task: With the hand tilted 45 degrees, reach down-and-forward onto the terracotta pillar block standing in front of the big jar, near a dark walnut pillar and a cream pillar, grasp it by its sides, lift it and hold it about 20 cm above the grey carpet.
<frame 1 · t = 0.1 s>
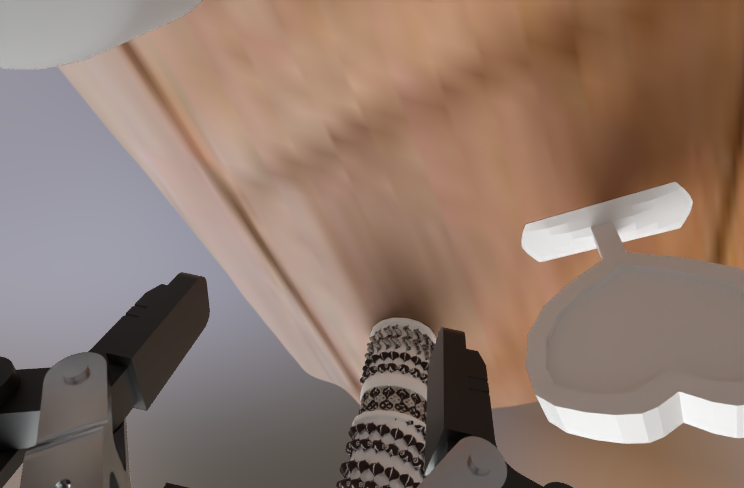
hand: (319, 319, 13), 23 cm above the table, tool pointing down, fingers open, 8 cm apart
decorative candle: (403, 337, 51), on the table
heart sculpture: (599, 224, 35), on the table
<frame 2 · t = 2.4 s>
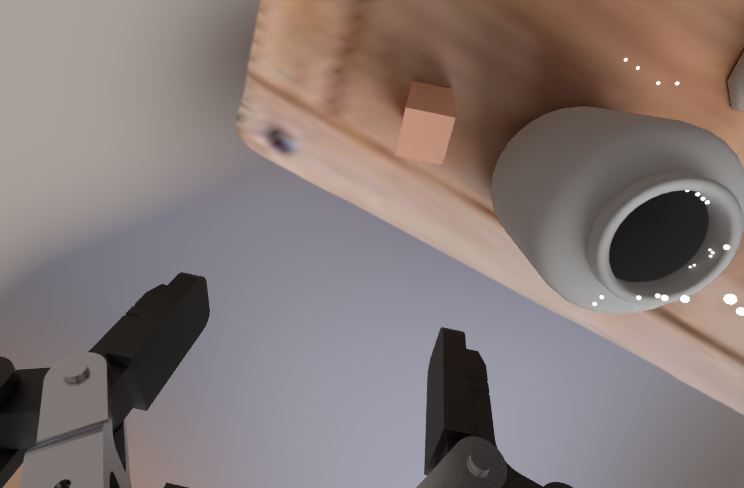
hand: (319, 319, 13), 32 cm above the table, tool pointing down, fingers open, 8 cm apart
jar: (574, 154, 41), on the table
terracotta pillar: (427, 105, 40), on the table
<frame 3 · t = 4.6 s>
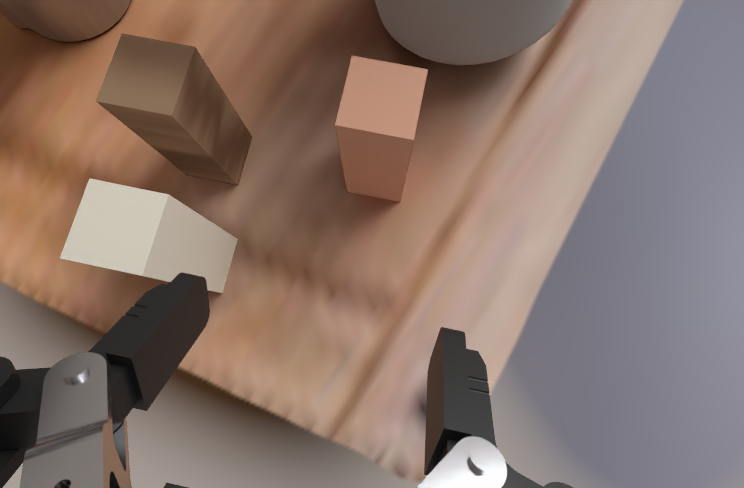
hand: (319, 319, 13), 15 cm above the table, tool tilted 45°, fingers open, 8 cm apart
walnut pillar: (219, 155, 30), on the table
jar: (439, 0, 33), on the table
cream pillar: (203, 260, 29), on the table
terracotta pillar: (379, 171, 30), on the table
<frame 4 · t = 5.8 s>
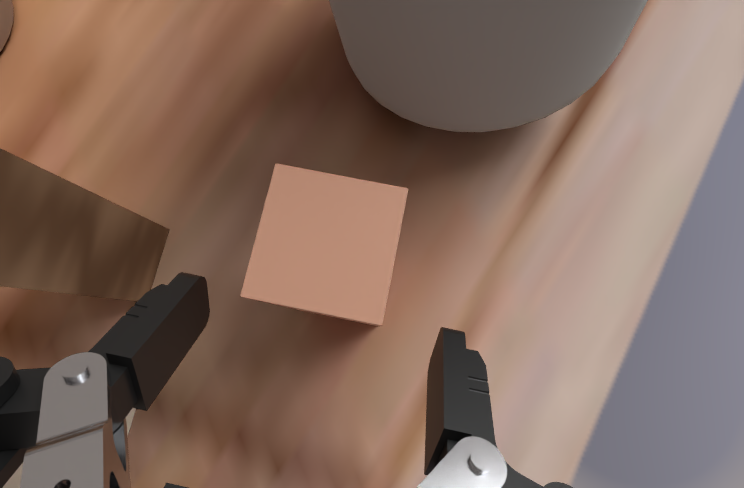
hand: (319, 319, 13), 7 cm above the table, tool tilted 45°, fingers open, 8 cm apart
walnut pillar: (122, 257, 21), on the table
jar: (432, 31, 24), on the table
cream pillar: (91, 418, 20), on the table
terracotta pillar: (347, 280, 21), on the table
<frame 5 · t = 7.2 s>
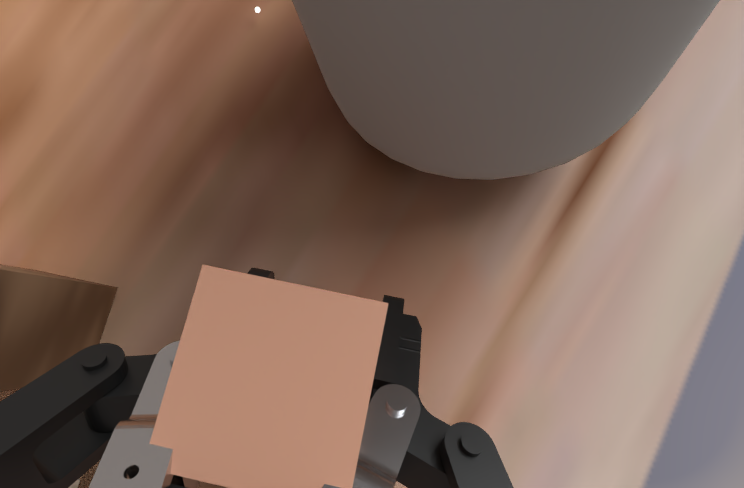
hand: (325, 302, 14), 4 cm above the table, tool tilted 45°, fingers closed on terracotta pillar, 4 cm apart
walnut pillar: (61, 322, 18), on the table
jar: (430, 51, 21), on the table
terracotta pillar: (327, 351, 18), on the table, touching gripper
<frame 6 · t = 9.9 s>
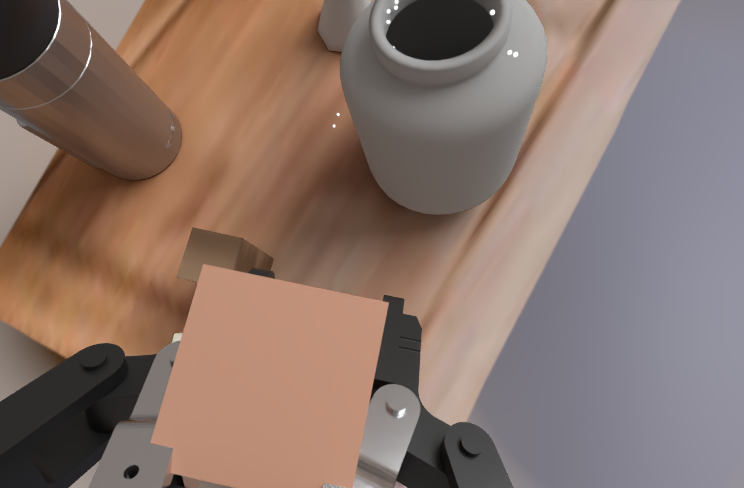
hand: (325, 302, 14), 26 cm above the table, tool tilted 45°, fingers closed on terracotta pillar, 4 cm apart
walnut pillar: (249, 273, 40), on the table
jar: (417, 147, 43), on the table
terracotta pillar: (327, 351, 18), point 22 cm above the table, touching gripper
flask: (348, 28, 46), on the table
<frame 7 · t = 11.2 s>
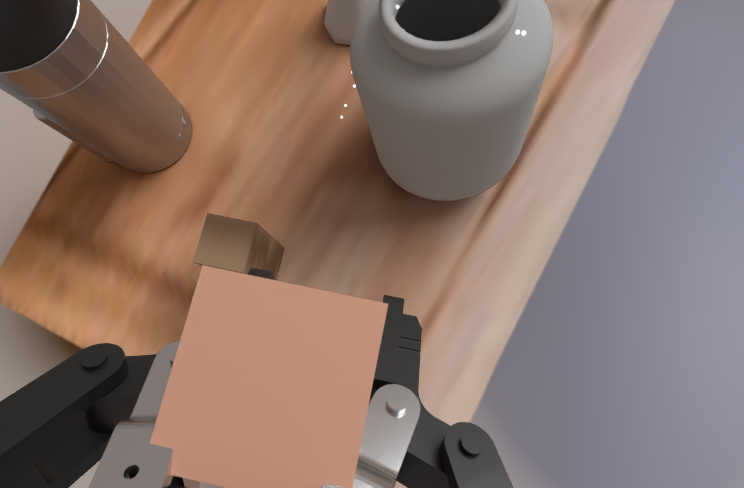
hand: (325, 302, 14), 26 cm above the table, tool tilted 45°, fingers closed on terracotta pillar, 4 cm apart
walnut pillar: (260, 262, 41), on the table
jar: (424, 136, 44), on the table
terracotta pillar: (327, 351, 18), point 22 cm above the table, touching gripper
flask: (354, 22, 47), on the table
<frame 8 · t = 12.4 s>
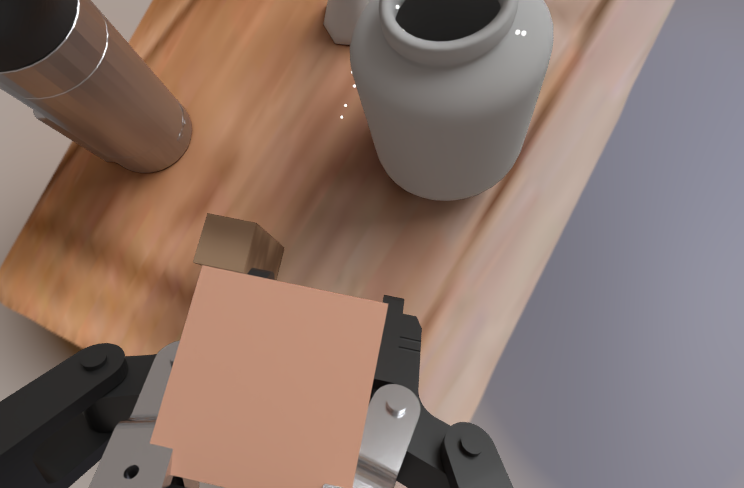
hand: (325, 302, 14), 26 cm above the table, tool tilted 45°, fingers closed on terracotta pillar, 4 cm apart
walnut pillar: (260, 262, 41), on the table
jar: (424, 136, 44), on the table
terracotta pillar: (327, 351, 18), point 22 cm above the table, touching gripper
flask: (354, 22, 47), on the table
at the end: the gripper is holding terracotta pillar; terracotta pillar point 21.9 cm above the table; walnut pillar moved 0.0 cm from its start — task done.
